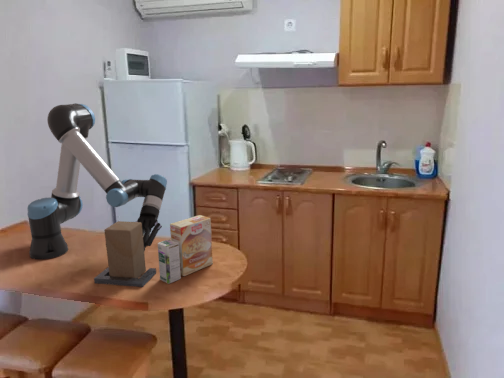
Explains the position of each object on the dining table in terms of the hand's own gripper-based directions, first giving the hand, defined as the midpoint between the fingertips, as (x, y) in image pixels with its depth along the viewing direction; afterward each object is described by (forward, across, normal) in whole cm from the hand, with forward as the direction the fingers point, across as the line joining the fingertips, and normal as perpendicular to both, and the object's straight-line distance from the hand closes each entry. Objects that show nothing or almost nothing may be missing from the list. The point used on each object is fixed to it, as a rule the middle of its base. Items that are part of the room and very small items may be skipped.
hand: (136, 261), depth 164 cm
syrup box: (+7, -17, +2) cm, 18 cm away
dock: (+8, 0, +4) cm, 9 cm away
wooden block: (+7, 0, +2) cm, 7 cm away
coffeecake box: (-1, -22, -5) cm, 23 cm away
